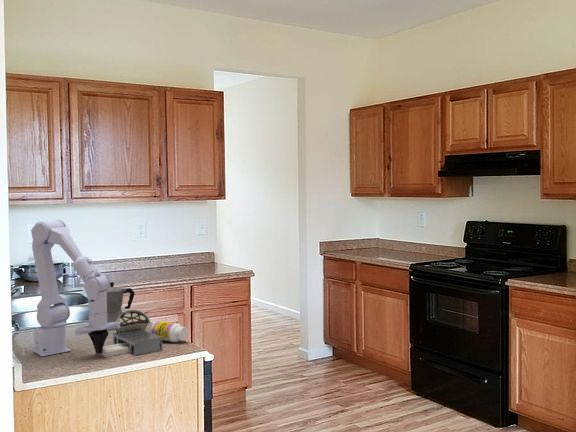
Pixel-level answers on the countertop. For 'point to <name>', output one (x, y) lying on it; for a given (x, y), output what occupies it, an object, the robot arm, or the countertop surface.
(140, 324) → the food container
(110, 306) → the coffeepot
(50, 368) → the countertop surface
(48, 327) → the robot arm
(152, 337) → the shelf
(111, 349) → the tray
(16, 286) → the countertop surface
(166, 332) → the supplement bottle
